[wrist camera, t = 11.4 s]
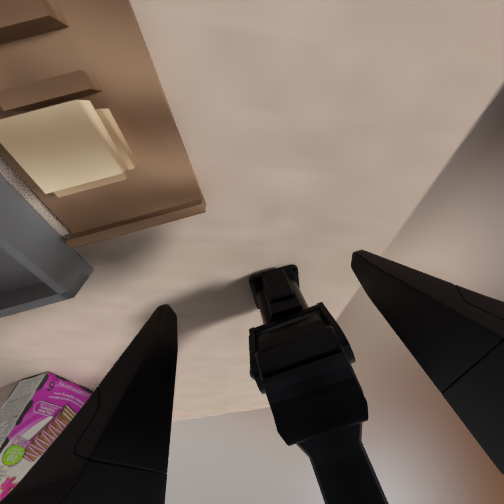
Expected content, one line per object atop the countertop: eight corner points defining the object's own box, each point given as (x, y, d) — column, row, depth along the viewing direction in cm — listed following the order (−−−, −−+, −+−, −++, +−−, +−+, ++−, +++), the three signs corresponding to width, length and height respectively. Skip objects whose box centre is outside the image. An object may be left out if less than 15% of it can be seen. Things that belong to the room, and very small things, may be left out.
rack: (205, 203, 19) (205, 214, 17) (83, 236, 19) (68, 252, 17) (86, -112, 9) (52, -173, 7) (-170, -49, 9) (-279, -95, 7)
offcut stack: (144, 167, 16) (126, 183, 12) (79, 184, 15) (44, 205, 12) (110, 101, 13) (75, 99, 10) (33, 122, 13) (-29, 127, 10)
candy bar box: (102, 393, 36) (42, 553, 23) (77, 401, 36) (2, 565, 23) (49, 369, 30) (-78, 576, 16) (18, 379, 30) (-133, 593, 17)
